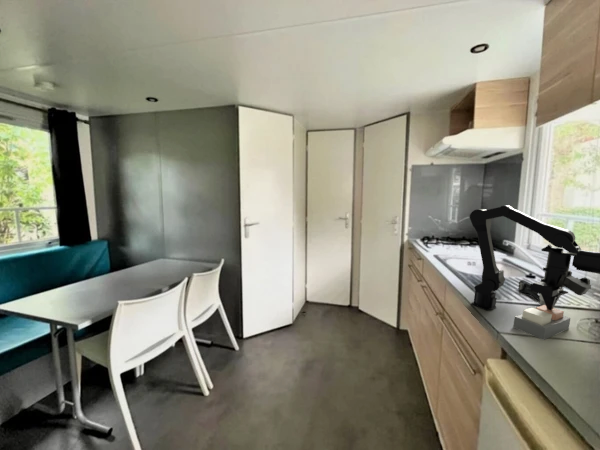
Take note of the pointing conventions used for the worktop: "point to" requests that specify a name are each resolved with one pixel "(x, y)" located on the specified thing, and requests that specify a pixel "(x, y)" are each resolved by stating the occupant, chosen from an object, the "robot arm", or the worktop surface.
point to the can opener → (527, 289)
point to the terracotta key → (552, 312)
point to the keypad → (541, 327)
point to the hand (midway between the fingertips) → (549, 309)
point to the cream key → (537, 316)
